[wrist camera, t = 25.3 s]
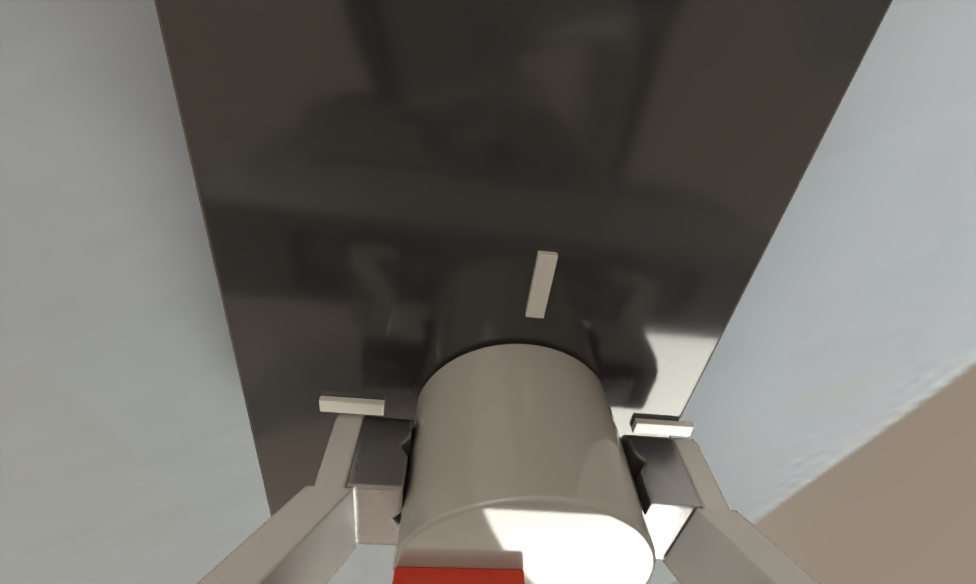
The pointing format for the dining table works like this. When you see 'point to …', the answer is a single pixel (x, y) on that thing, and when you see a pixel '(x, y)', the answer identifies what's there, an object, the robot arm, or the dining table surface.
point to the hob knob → (519, 477)
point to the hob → (492, 188)
